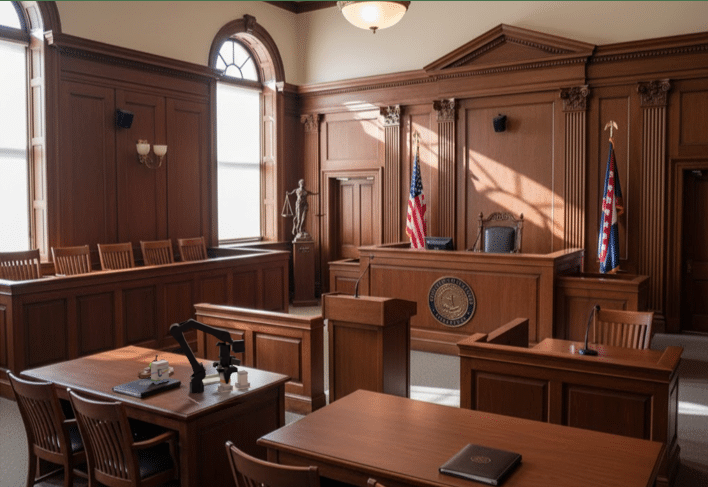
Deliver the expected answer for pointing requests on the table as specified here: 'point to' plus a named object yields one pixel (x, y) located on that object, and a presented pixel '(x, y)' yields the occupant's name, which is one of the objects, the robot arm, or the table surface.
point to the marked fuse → (223, 383)
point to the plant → (147, 371)
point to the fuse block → (232, 387)
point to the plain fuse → (242, 378)
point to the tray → (211, 379)
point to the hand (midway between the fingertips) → (225, 383)
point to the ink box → (159, 370)
